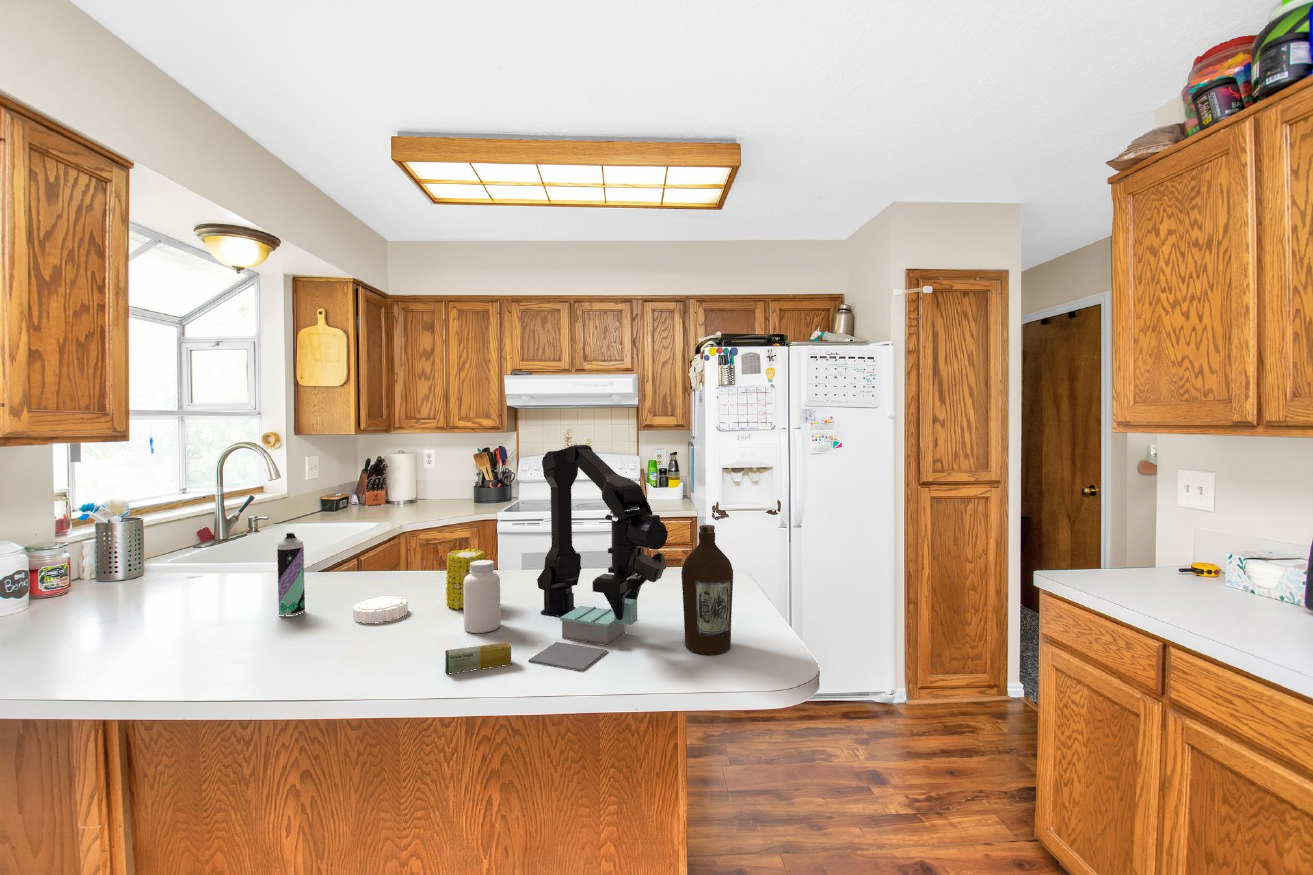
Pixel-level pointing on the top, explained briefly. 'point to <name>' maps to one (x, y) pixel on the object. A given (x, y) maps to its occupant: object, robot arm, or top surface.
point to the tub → (591, 632)
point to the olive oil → (707, 596)
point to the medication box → (477, 657)
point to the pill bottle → (481, 598)
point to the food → (459, 574)
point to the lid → (602, 615)
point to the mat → (568, 656)
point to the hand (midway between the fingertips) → (625, 615)
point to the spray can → (291, 575)
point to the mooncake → (380, 609)
